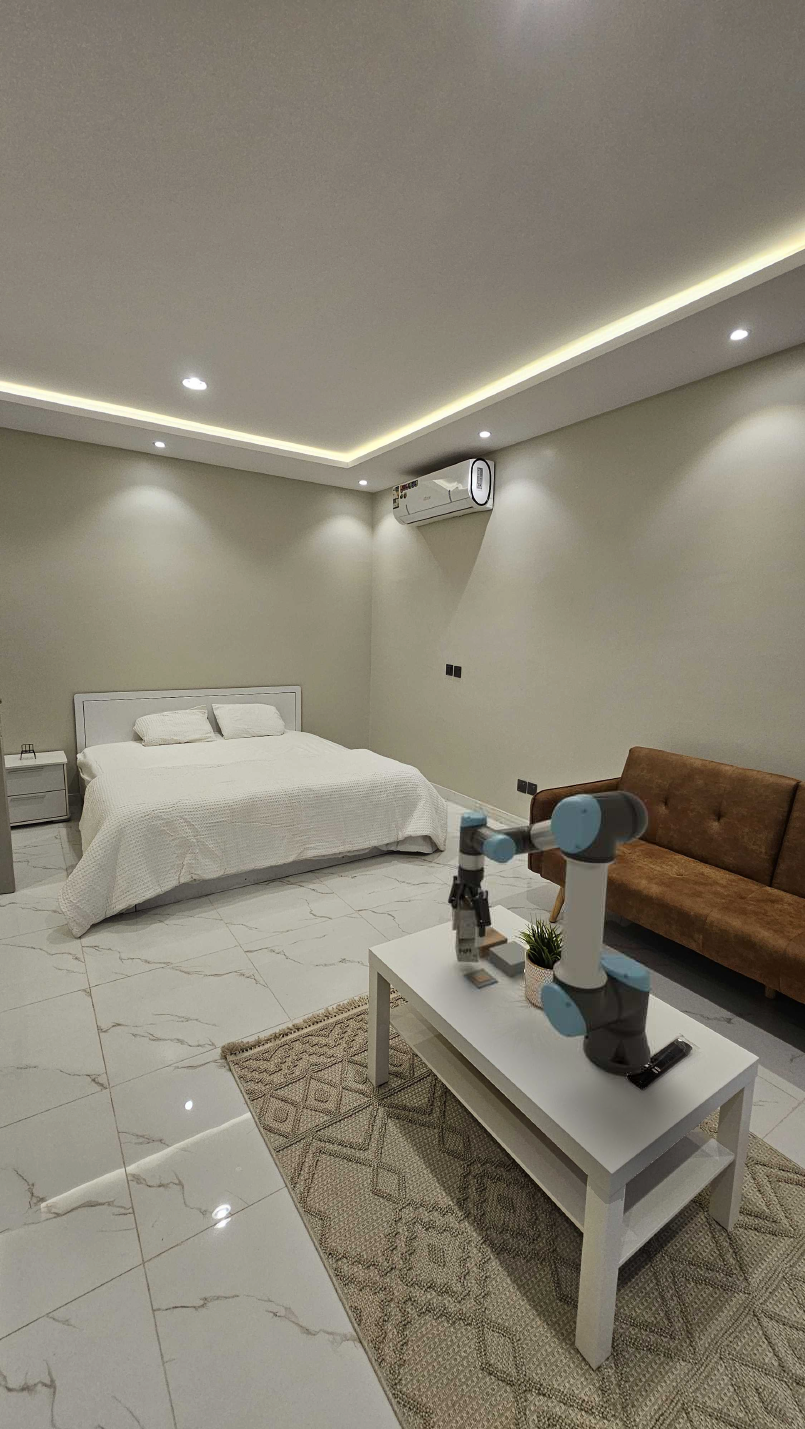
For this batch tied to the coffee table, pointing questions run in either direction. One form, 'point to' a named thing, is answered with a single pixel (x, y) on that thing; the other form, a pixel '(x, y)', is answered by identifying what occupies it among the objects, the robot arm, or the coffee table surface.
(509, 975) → the grey square block
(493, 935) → the walnut block
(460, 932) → the coffee box
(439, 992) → the coffee table surface
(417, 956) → the coffee table surface
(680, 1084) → the coffee table surface
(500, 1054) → the coffee table surface
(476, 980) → the square coaster
